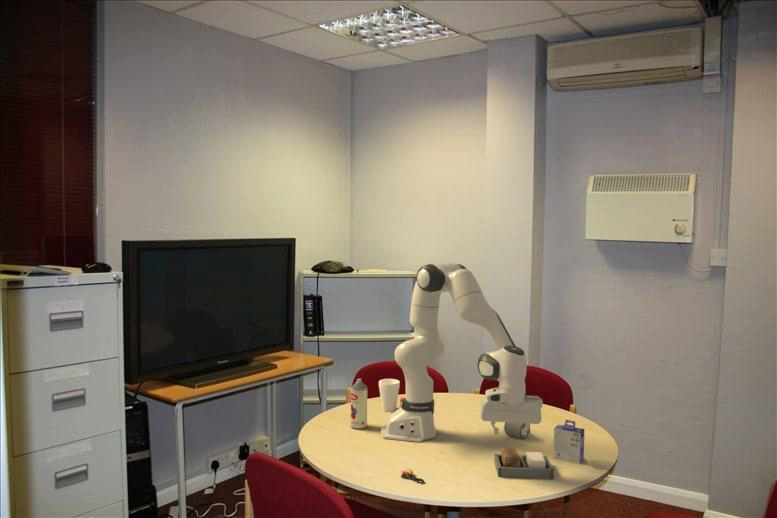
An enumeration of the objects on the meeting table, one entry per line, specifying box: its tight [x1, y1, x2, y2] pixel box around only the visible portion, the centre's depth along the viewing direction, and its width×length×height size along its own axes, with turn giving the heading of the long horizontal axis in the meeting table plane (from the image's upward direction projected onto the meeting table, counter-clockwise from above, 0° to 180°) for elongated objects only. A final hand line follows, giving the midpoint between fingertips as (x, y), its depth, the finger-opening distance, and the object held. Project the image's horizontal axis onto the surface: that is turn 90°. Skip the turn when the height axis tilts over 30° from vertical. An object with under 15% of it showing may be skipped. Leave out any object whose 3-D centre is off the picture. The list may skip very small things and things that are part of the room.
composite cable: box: [400, 467, 425, 484], centre depth 200 cm, size 10×5×2 cm, turn 32°
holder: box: [493, 453, 555, 480], centre depth 206 cm, size 18×12×4 cm, turn 86°
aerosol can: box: [350, 378, 368, 431], centre depth 250 cm, size 7×7×20 cm
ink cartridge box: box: [552, 419, 585, 465], centre depth 216 cm, size 10×6×14 cm, turn 58°
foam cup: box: [378, 378, 401, 413], centre depth 274 cm, size 10×9×13 cm
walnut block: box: [501, 447, 520, 468], centre depth 206 cm, size 5×8×6 cm, turn 176°
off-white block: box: [525, 451, 546, 468], centre depth 206 cm, size 5×8×5 cm, turn 176°
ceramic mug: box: [503, 422, 531, 440], centre depth 242 cm, size 11×8×8 cm
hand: (509, 434), depth 206 cm, fingers open, 8 cm apart
